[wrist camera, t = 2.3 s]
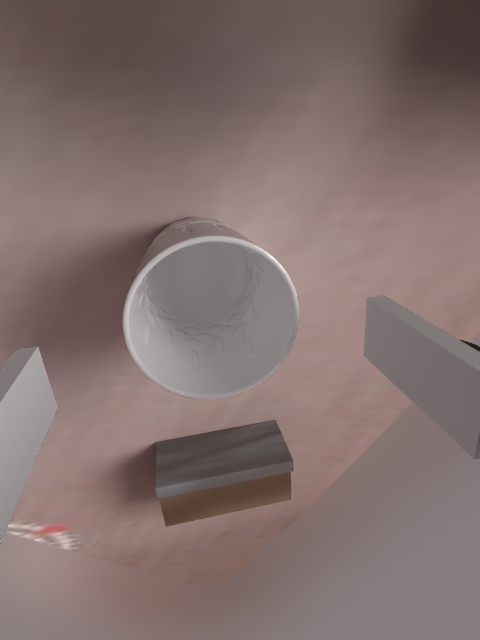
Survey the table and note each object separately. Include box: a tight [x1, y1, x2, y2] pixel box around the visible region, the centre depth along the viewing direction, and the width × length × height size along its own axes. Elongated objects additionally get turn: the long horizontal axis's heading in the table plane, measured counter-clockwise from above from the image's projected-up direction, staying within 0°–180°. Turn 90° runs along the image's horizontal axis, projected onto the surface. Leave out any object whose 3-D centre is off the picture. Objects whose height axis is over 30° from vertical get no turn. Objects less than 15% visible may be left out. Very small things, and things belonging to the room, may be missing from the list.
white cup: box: [123, 217, 299, 399], centre depth 22 cm, size 8×8×10 cm
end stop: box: [155, 420, 293, 526], centre depth 30 cm, size 5×10×5 cm, turn 95°
